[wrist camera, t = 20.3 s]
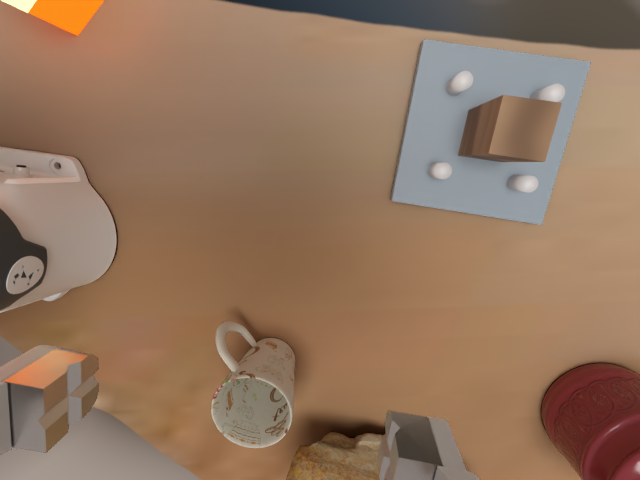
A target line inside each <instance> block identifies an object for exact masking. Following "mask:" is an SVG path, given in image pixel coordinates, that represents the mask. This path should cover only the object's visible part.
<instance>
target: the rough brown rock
mask: <svg viewBox="0 0 640 480" xmlns="http://www.w3.org/2000/svg"><path fill="white" fill-rule="evenodd" d="M382 436H383V435H380V434H378V435H376V434H372V433H365V434H363V435H358V436H356V437H355V438H348V437H346V436H345V435H343V434H340V433H335V432H329V433H328V434H327V435H325V436H324V437H323V439H322V440H321V442H320V441H318V442H316V443H314V444H311V445H308V446H300V447H299V448H298V450H297V451H296V454H295V456H294V458H293V461H292V464H291V467H290V470H289V472H288V475H287V478H286V480H381V479H380V478H379V472H378V455H379V446H380V441H381V437H382Z"/></svg>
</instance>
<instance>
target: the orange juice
mask: <svg viewBox="0 0 640 480" xmlns="http://www.w3.org/2000/svg"><path fill="white" fill-rule="evenodd" d="M1 1H3V2H5V3H7V4H9V5H12V6H14V7H16V8H18V9H20V10H22V11H24V12H26V13H30V14H32V15H34V16H36V17H38V18H41V19H43V20H45V21H47V22H49V23H51V24H53V25H55V26H58V27H60V28H62V29H64V30H66V31H68V32H70V33H72V34H75V35H77V36H78V35H79V33H80V32H81V31H82V29H83V28H84V27H85V25H86V24H87V23H88V21H89V20H90V19H91V17H92V16H93V15H94V13H95V12H96V10H97V9H98V8H99V6H100V5H101V4H102V2H103V1H104V0H1Z"/></svg>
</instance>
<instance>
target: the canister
mask: <svg viewBox="0 0 640 480" xmlns="http://www.w3.org/2000/svg"><path fill="white" fill-rule="evenodd" d="M541 414H542V421H543V424H544V426H545V428H546V431H547V433H548V436H549V438H550V439H551V441H552V442H553V444H554V445H555V447H556V448H557V449H558V450H559V451H560V453H561V454H563V455H564V456H565V457H566V459H567V460H568V462H569V463H570V464H571V466H572V467H573V468H574V470H575V471H576V472H577V474H578V475H579V476H580V478H581V479H582V480H640V375H639V374H637V373H635V372H633V371H630V370H628V369H626V368H624V367H621V366H618V365H614V364H606V363H597V364H589V365H585V366H581V367H578V368H575V369H573V370H571V371H569V372H567V373H566V374H564V375H563V376H561V377H560V378H559V379H558V380H556V381H555V382H554V383H553V385H552V386H551V387H550V388H549V390H548V391H547V393H546V395H545V397H544V400H543V403H542V410H541Z"/></svg>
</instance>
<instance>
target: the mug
mask: <svg viewBox="0 0 640 480" xmlns="http://www.w3.org/2000/svg"><path fill="white" fill-rule="evenodd" d="M229 331H236V332H239V333H241V334H242V335H243V336H244V337H245V339H246V340H247V341H248V342H249V343H250V345H251V346H252V348H251V349H250V350H249V351H248V352H247V354H246V355H245V356H244V357H243V358H242V360H241V361H240V362H239V363H237V362H236V360H235V359H234V358H233V357H232V356H231V354H230V353H229V351H228V349H227V345H226V334H227V332H229ZM216 346H217V350H218V353H219V355H220V356H221V358H222V359H223V361H224V362H225V363H226V365H227V366H228V367H229V368H230V370H231V371H232V372H231V373H230V374H229V375H228V376H227V378H226V379H225V380H224V381H223V382H222V384H221V385H220V386H219V387H218V389H217V390H216V392H215V394H214V396H213V399H212V404H211V413H212V417H213V421H214V423H215V425H216V427H217V428H218V429H219V431H220V432H221V433H222V434H223V435H224V436H225V437H226V438H227V439H229V440H230V441H232V442H234V443H236V444H238V445H241V446H244V447H249V448H262V447H267V446H270V445H273V444H275V443H277V442H278V441H280V440H281V439H282V438H283V437H284V436H285V435H286V433H287V432H288V430H289V428H290V426H291V422H292V417H293V403H294V382H295V355H294V353H293V351H292V349H291V347H290V346H289V345H288V344H287V343H285V342H284V341H282V340H279V339H276V338H265V339H262V340H260V341H258V342H257V343H256V341H255V340H254V338H253V337H252V335H251V334H250V333H249V331H248V330H247V329H246V328H245V327H244V326H242V325H240V324H238V323H235V322H231V321H226V322H223V323H221V324H220V325H219V326H218V328H217V331H216Z"/></svg>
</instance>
